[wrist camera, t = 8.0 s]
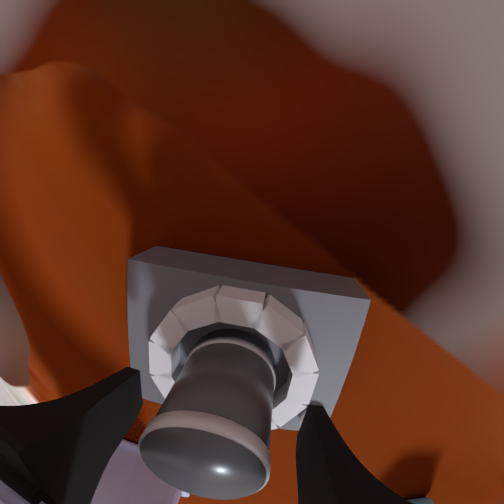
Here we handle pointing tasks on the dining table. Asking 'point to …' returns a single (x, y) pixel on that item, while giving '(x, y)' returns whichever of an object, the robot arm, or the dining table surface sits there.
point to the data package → (421, 500)
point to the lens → (216, 419)
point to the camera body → (244, 322)
